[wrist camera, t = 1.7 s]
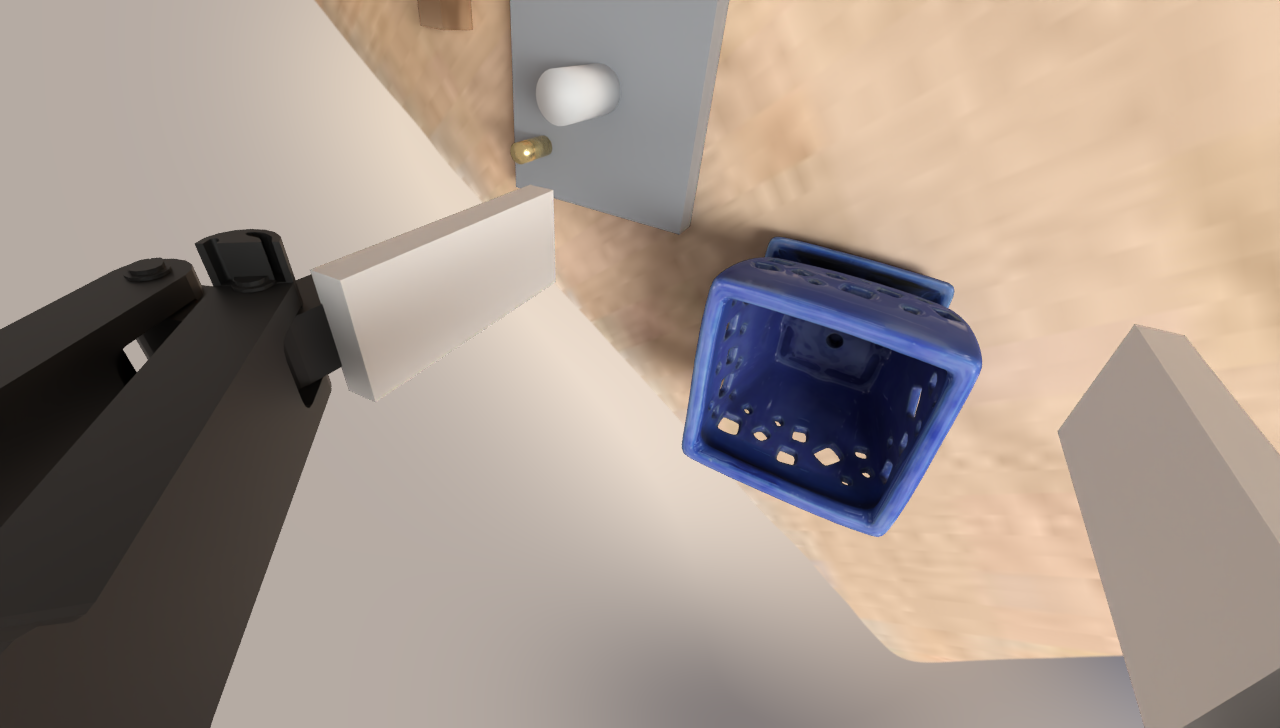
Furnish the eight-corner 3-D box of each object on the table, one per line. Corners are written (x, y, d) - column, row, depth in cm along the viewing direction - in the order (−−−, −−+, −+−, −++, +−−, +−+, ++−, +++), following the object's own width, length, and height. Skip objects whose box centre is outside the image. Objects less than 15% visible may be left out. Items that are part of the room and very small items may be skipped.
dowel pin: (535, 133, 37) (509, 140, 35) (552, 137, 37) (527, 144, 35) (536, 153, 38) (510, 161, 36) (552, 157, 38) (527, 166, 36)
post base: (527, -75, 33) (447, -94, 27) (738, -53, 28) (692, -70, 23) (531, 181, 42) (472, 203, 37) (689, 226, 38) (649, 258, 33)
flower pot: (729, 368, 43) (672, 459, 34) (767, 210, 35) (706, 275, 26) (897, 426, 39) (883, 548, 30) (982, 263, 31) (999, 361, 22)
